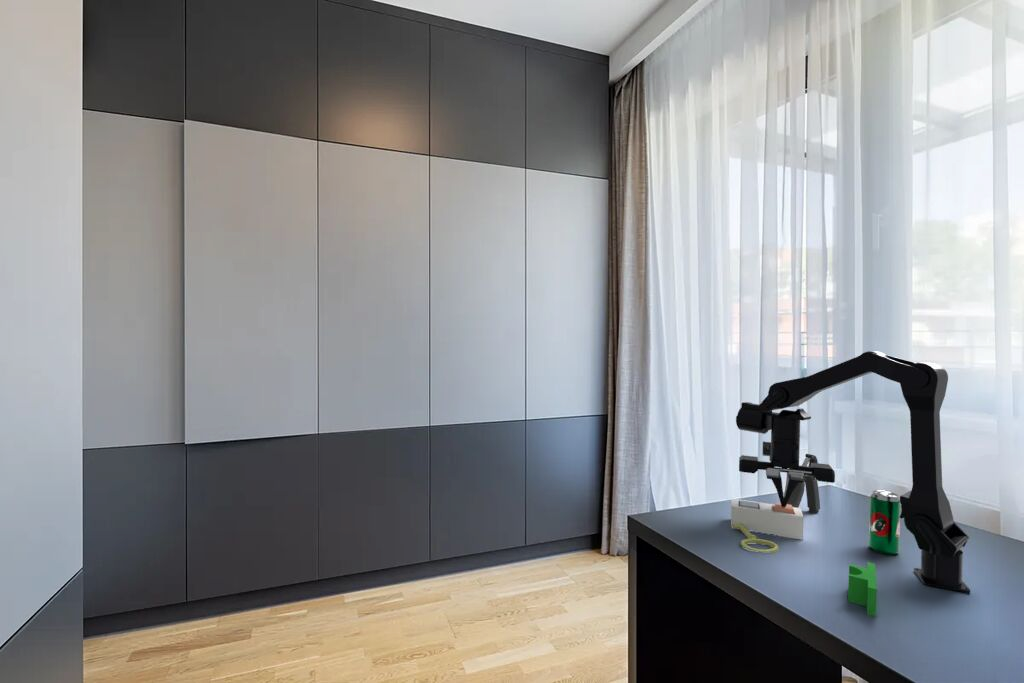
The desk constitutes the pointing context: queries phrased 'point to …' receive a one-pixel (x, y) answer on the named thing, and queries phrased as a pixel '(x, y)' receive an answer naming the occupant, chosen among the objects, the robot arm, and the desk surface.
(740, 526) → the key
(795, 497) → the hand grip strengthener
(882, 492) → the soda can
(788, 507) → the orange button
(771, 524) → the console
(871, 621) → the desk surface
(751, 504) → the grey button
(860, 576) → the pipe clamp
